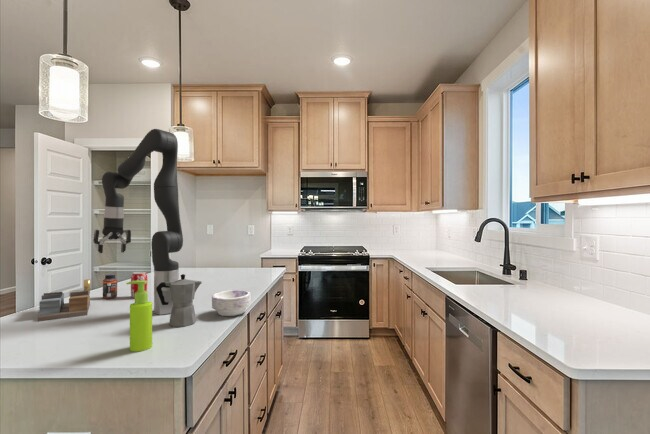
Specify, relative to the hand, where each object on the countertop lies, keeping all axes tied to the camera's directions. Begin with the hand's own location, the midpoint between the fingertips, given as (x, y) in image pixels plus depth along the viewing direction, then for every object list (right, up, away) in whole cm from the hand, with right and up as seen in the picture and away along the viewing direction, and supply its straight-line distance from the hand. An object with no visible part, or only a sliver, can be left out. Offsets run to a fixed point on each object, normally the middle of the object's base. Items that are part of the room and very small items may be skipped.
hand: (112, 252), depth 152 cm
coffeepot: (+43, -23, -29) cm, 57 cm away
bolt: (-6, -16, -11) cm, 21 cm away
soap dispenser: (+41, -23, -51) cm, 70 cm away
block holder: (-10, -23, -14) cm, 29 cm away
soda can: (+6, -23, +12) cm, 27 cm away
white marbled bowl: (+58, -23, -15) cm, 64 cm away
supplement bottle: (-8, -23, +10) cm, 26 cm away
